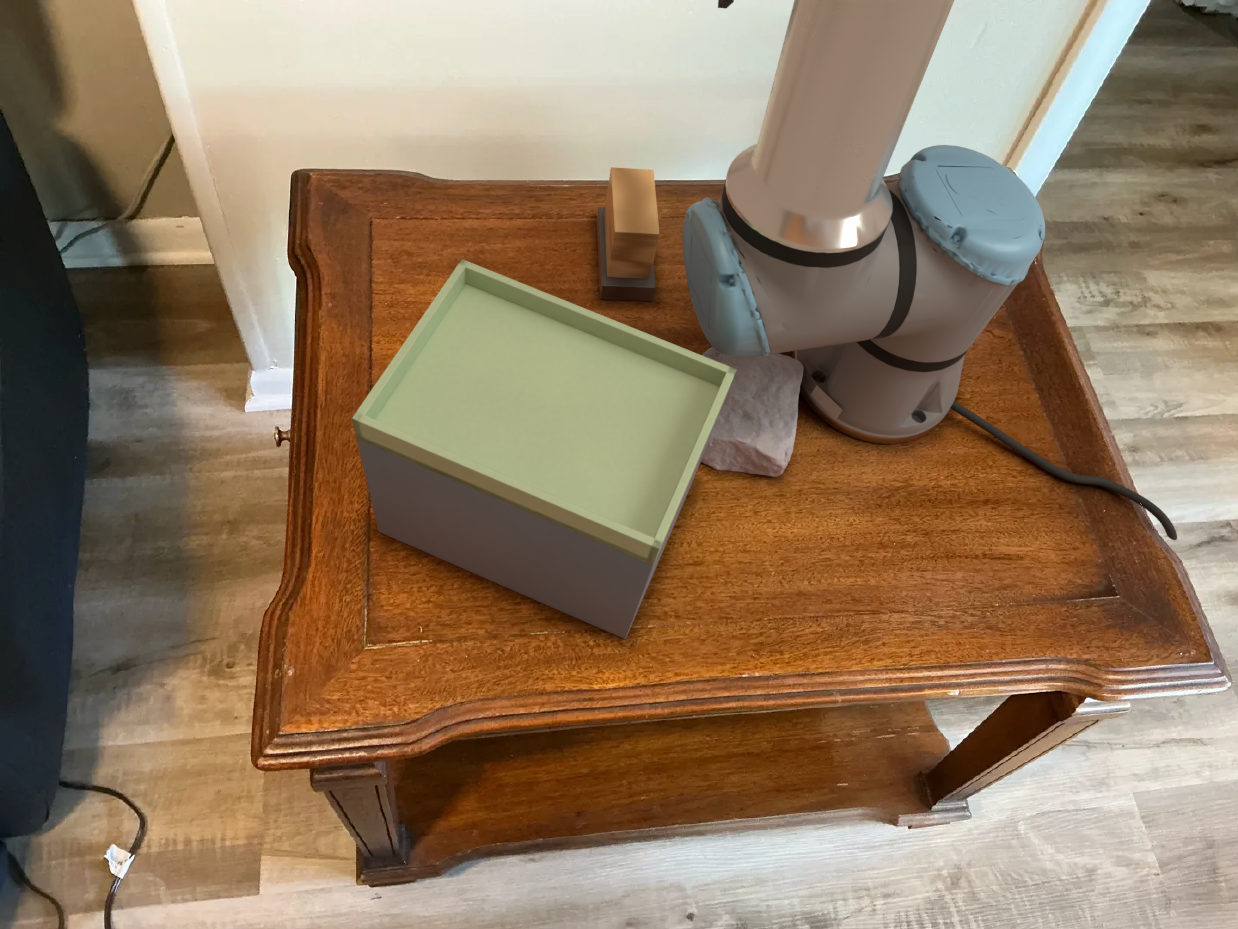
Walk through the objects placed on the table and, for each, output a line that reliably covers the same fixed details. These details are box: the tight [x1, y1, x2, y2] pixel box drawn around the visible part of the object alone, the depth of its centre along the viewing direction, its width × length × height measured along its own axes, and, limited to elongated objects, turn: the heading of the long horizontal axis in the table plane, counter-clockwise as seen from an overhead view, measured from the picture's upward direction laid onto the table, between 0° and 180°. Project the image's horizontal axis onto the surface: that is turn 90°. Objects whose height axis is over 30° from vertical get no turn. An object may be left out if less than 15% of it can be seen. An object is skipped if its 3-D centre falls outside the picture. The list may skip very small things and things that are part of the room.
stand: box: [356, 395, 727, 640], centre depth 70 cm, size 21×15×14 cm
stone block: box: [700, 346, 804, 478], centre depth 82 cm, size 12×5×10 cm
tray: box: [351, 258, 736, 566], centre depth 63 cm, size 21×15×3 cm
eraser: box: [595, 167, 660, 302], centre depth 87 cm, size 5×10×8 cm, turn 3°
